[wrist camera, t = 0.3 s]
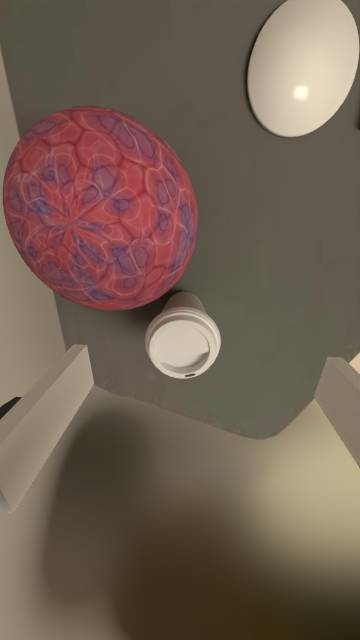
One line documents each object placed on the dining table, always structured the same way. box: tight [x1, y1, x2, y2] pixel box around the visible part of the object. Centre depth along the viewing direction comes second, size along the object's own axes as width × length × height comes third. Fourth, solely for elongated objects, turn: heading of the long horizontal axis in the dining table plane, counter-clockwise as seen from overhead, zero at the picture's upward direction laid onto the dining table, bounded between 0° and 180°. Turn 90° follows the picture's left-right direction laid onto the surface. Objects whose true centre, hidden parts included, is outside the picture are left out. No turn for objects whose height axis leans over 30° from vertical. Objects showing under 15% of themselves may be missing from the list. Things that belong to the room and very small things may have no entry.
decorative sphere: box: [3, 106, 198, 311], centre depth 26 cm, size 20×20×20 cm
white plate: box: [247, 0, 359, 138], centre depth 28 cm, size 13×13×1 cm
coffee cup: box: [145, 292, 221, 378], centre depth 33 cm, size 10×10×15 cm
